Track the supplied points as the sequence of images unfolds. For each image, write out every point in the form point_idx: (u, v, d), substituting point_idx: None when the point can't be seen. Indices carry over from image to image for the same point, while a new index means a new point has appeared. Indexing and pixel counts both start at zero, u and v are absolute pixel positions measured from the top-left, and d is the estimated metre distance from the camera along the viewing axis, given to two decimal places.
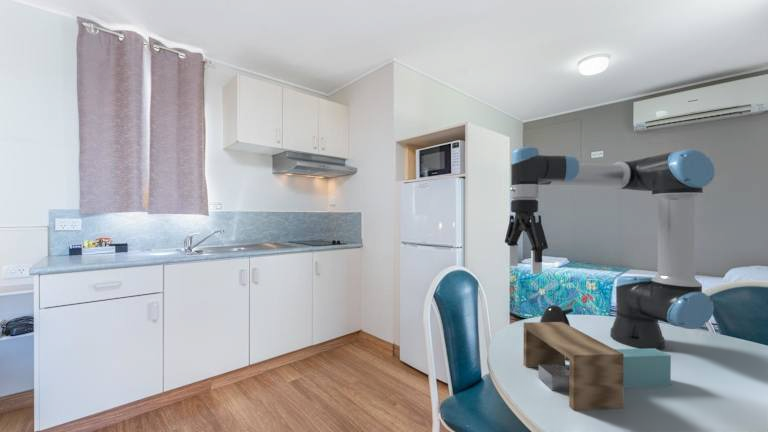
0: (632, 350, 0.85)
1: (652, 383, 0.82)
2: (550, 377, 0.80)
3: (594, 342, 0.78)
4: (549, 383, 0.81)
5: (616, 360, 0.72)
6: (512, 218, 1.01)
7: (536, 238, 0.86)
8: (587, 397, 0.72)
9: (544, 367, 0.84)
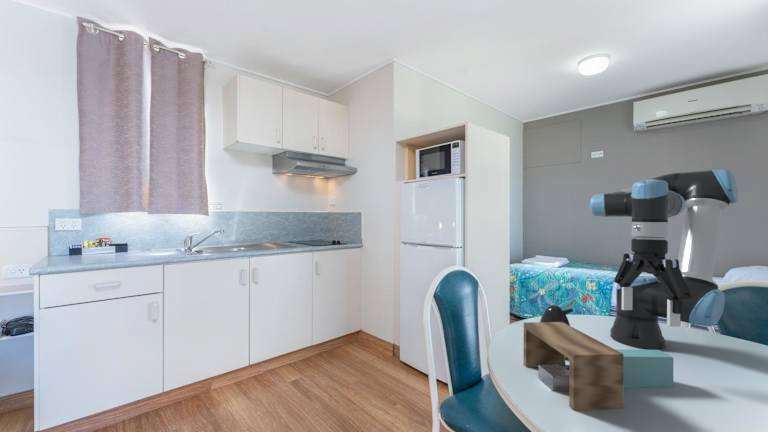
0: (633, 351, 0.85)
1: (653, 384, 0.81)
2: (551, 377, 0.80)
3: (594, 342, 0.78)
4: (549, 383, 0.80)
5: (616, 360, 0.72)
6: (628, 257, 0.90)
7: (677, 287, 0.76)
8: (587, 397, 0.72)
9: (544, 367, 0.84)
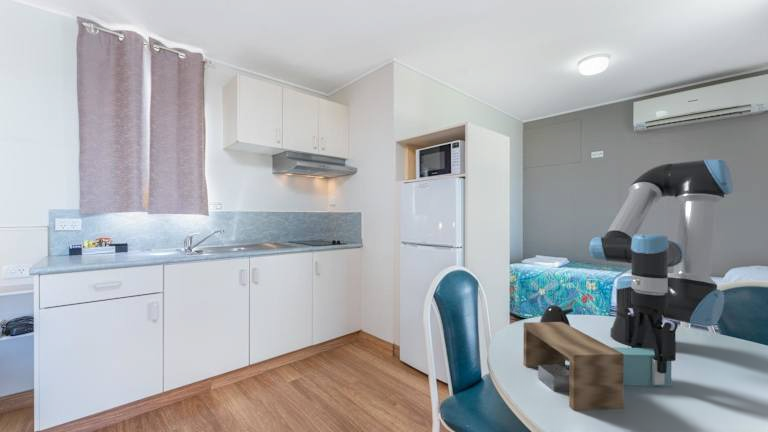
0: (631, 349, 0.86)
1: (651, 382, 0.82)
2: (552, 378, 0.80)
3: (594, 342, 0.78)
4: (549, 384, 0.80)
5: (616, 360, 0.72)
6: (628, 311, 0.90)
7: (665, 349, 0.79)
8: (587, 397, 0.72)
9: (544, 367, 0.83)
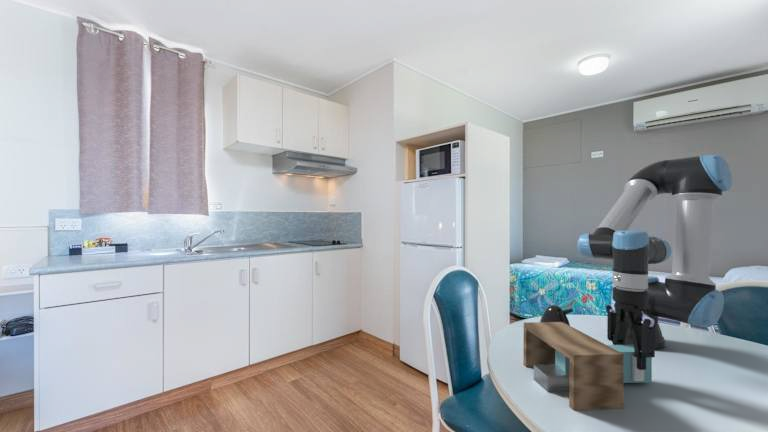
0: (613, 346, 0.85)
1: None
2: (545, 377, 0.79)
3: (594, 342, 0.78)
4: (544, 383, 0.80)
5: (616, 360, 0.72)
6: (610, 308, 0.89)
7: (644, 345, 0.78)
8: (587, 397, 0.72)
9: (539, 367, 0.83)
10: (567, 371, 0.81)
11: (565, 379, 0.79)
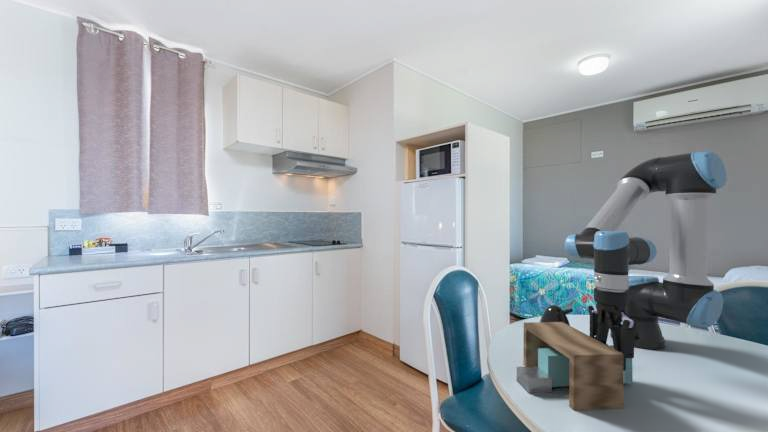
0: None
1: None
2: (527, 380, 0.78)
3: (594, 342, 0.78)
4: (525, 386, 0.79)
5: (616, 360, 0.72)
6: (592, 309, 0.89)
7: (623, 346, 0.78)
8: (587, 397, 0.72)
9: (522, 369, 0.82)
10: (550, 374, 0.80)
11: (547, 381, 0.78)
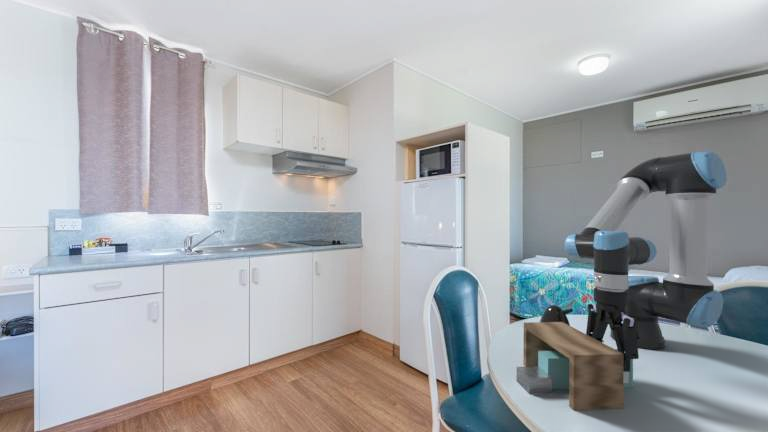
0: None
1: None
2: (527, 380, 0.78)
3: (594, 342, 0.78)
4: (525, 386, 0.79)
5: (616, 360, 0.72)
6: (592, 307, 0.89)
7: (627, 346, 0.77)
8: (587, 397, 0.72)
9: (522, 369, 0.82)
10: None
11: (547, 381, 0.78)
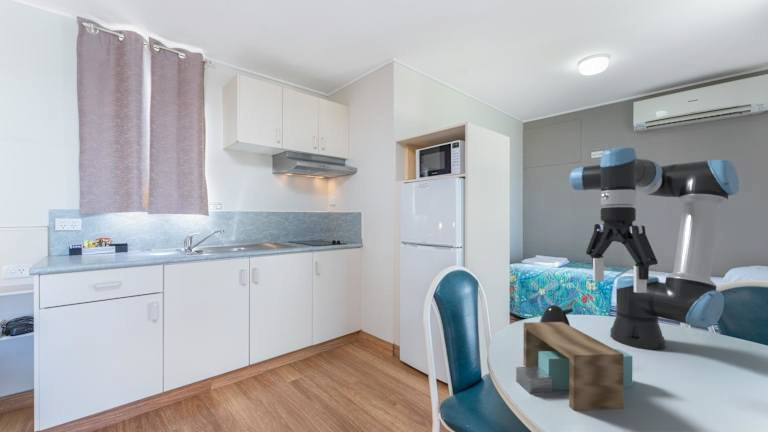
0: None
1: None
2: (528, 380, 0.78)
3: (594, 342, 0.78)
4: (526, 386, 0.79)
5: (616, 360, 0.72)
6: (598, 227, 0.89)
7: (642, 252, 0.75)
8: (587, 397, 0.72)
9: (521, 370, 0.82)
10: None
11: (547, 381, 0.78)
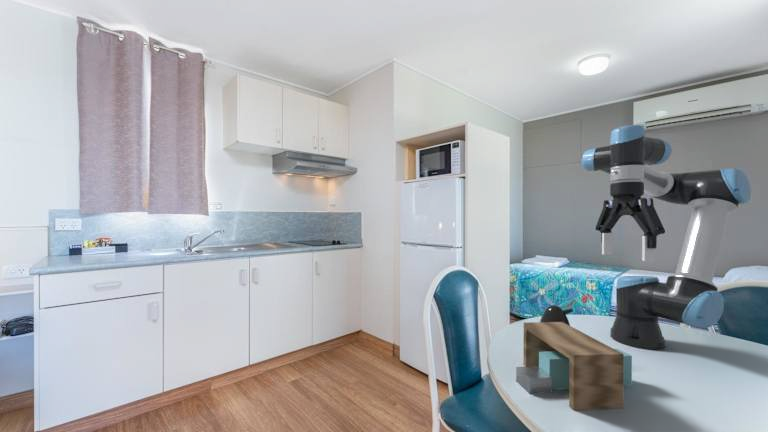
0: None
1: None
2: (528, 380, 0.78)
3: (594, 342, 0.78)
4: (526, 386, 0.79)
5: (616, 360, 0.72)
6: (607, 203, 0.94)
7: (651, 222, 0.79)
8: (587, 397, 0.72)
9: (521, 369, 0.82)
10: None
11: (547, 381, 0.78)
